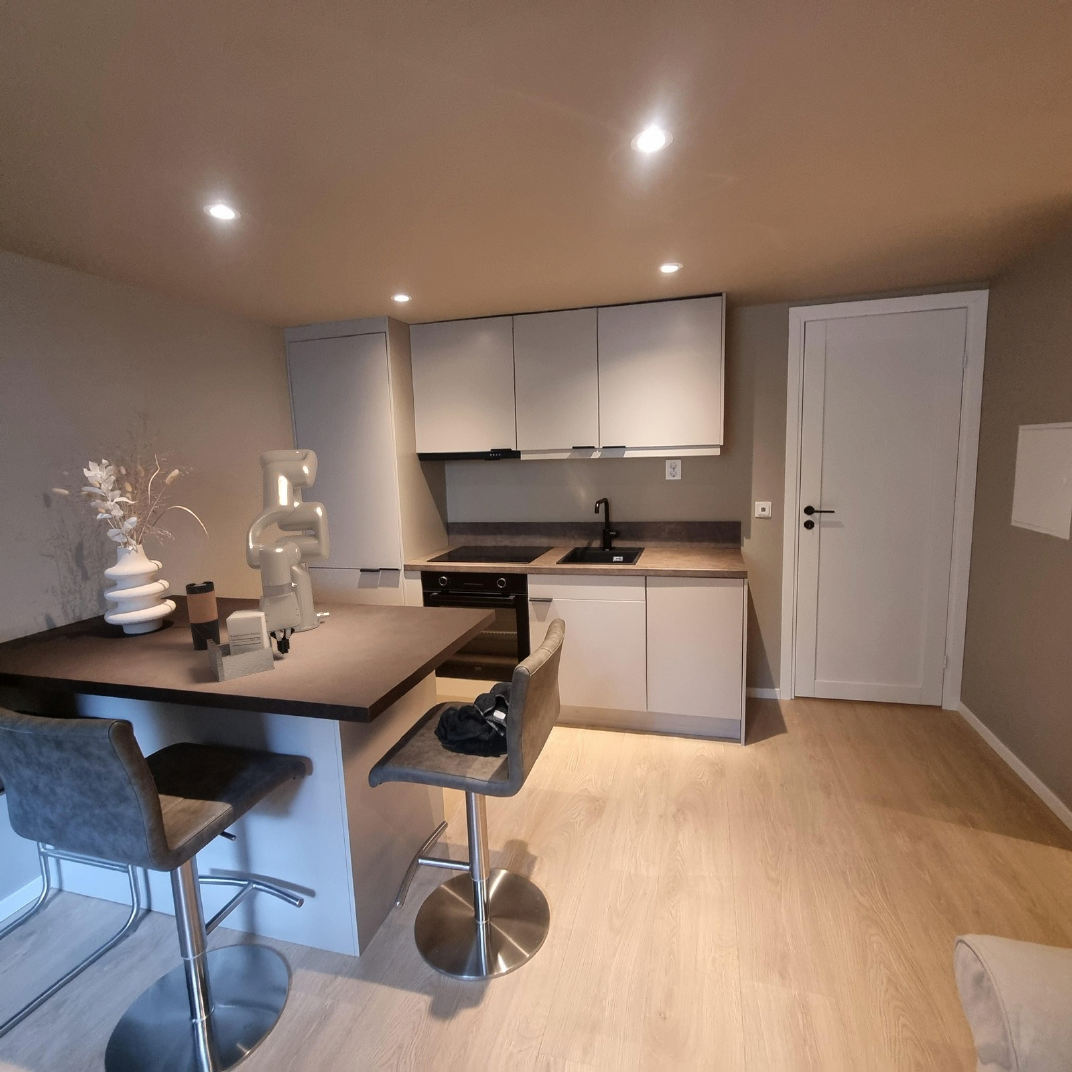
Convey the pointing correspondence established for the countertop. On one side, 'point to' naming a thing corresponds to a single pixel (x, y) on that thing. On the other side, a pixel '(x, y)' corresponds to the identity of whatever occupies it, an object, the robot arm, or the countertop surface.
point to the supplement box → (247, 631)
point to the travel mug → (203, 614)
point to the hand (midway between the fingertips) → (284, 652)
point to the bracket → (238, 661)
